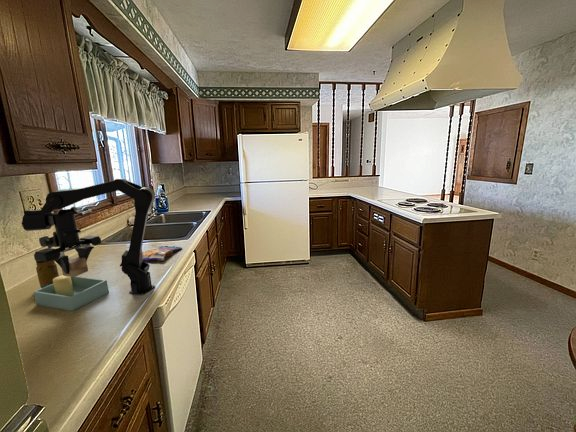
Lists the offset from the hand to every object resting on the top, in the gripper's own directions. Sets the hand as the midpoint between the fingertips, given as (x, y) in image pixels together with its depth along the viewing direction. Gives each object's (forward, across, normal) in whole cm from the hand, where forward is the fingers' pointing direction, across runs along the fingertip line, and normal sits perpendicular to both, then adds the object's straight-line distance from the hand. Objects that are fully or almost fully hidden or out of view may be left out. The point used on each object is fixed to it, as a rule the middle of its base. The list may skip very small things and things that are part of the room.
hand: (75, 270), depth 95 cm
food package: (+12, -45, -4) cm, 47 cm away
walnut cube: (+1, 0, 0) cm, 1 cm away
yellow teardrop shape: (+10, 0, -8) cm, 13 cm away
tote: (+11, 0, -4) cm, 12 cm away
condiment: (+12, -5, -22) cm, 25 cm away
